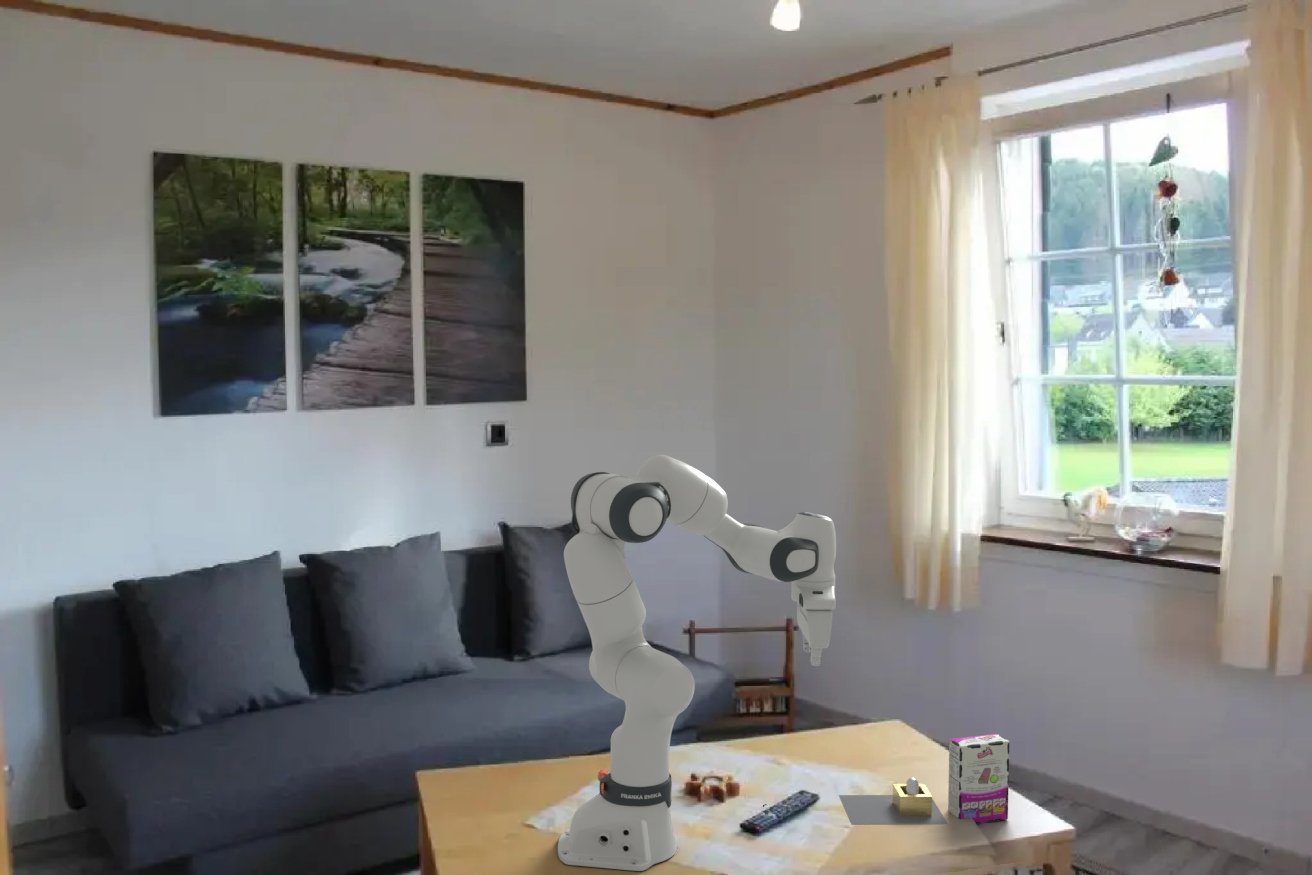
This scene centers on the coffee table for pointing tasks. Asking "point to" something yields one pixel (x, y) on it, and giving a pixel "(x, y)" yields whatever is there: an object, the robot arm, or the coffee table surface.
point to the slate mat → (883, 811)
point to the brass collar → (912, 801)
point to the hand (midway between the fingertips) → (811, 658)
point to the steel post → (912, 786)
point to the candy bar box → (979, 778)
